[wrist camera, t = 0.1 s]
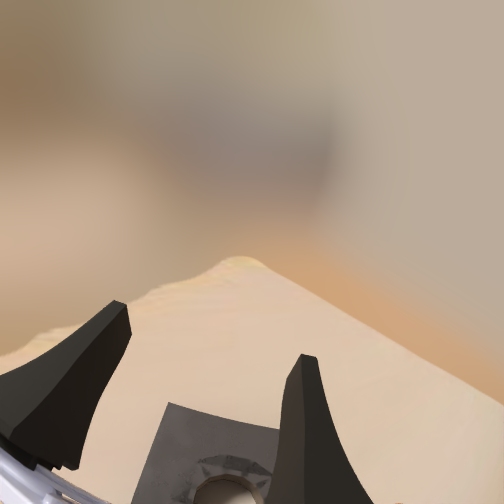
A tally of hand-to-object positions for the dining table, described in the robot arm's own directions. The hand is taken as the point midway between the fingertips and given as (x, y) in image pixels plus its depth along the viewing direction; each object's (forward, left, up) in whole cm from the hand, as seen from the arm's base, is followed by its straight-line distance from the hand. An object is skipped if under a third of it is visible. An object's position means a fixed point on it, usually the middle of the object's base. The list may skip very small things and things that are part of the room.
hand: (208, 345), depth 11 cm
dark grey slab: (-3, -4, -22) cm, 22 cm away
